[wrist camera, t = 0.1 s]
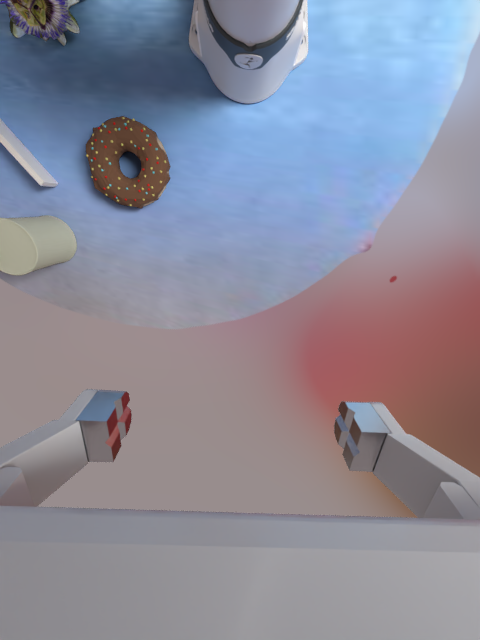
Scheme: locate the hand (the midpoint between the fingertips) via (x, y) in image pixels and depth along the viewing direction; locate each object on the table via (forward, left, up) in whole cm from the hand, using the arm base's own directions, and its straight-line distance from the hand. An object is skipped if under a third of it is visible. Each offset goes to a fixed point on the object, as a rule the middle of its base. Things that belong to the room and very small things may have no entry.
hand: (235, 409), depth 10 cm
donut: (-13, -20, -48) cm, 54 cm away
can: (+1, -37, -48) cm, 61 cm away
